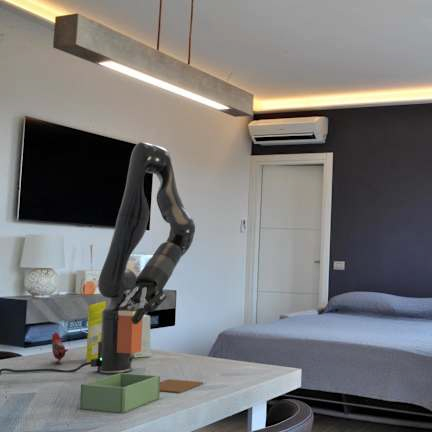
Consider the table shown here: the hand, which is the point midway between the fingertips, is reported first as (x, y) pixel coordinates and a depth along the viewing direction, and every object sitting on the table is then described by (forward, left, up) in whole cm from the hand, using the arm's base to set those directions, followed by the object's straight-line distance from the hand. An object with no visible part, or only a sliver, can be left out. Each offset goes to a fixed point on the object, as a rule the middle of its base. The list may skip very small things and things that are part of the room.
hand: (125, 321), depth 156 cm
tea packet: (0, +2, -8) cm, 9 cm away
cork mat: (+2, +19, -21) cm, 29 cm away
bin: (0, -1, -21) cm, 21 cm away
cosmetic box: (-38, +56, -21) cm, 71 cm away
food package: (-48, +45, -21) cm, 70 cm away
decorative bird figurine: (-53, +34, -21) cm, 67 cm away
